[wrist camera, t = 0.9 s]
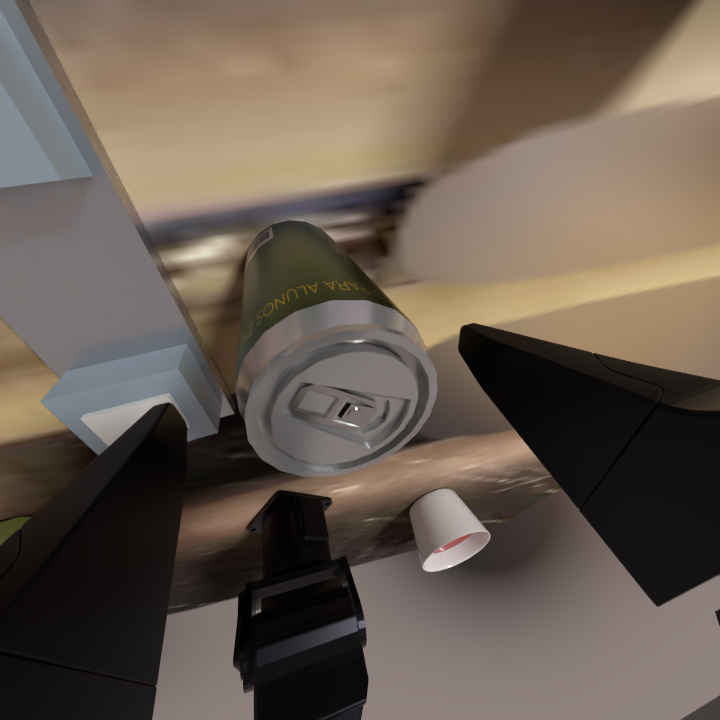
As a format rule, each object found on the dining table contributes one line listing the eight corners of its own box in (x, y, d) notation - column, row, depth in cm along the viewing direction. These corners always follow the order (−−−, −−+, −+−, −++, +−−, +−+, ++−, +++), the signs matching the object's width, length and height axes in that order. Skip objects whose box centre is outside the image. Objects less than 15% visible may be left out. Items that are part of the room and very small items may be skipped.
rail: (235, 403, 21) (234, 413, 20) (128, 432, 19) (123, 444, 19) (-6, -64, 9) (-32, -86, 8) (-324, -65, 7) (-392, -91, 7)
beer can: (230, 288, 16) (197, 470, 7) (270, 195, 14) (303, 270, 5) (314, 324, 19) (373, 489, 10) (357, 250, 17) (483, 366, 8)
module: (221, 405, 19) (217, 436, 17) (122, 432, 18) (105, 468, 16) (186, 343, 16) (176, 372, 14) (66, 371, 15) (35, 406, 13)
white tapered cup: (389, 522, 39) (408, 575, 34) (424, 480, 35) (452, 533, 30) (436, 520, 43) (460, 567, 38) (473, 482, 40) (504, 529, 35)
